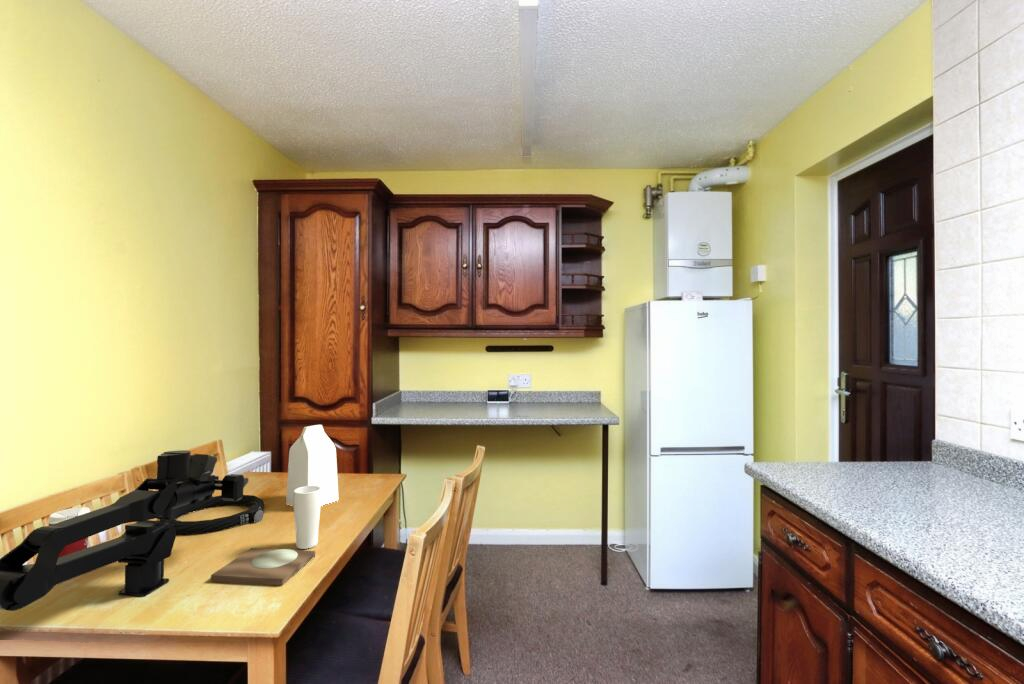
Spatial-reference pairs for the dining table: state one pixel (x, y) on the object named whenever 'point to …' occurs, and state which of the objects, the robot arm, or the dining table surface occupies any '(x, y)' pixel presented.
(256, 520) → the cable lock
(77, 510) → the paper cup
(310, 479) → the milk
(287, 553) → the walnut board
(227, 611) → the dining table surface
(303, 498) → the drinking glass
